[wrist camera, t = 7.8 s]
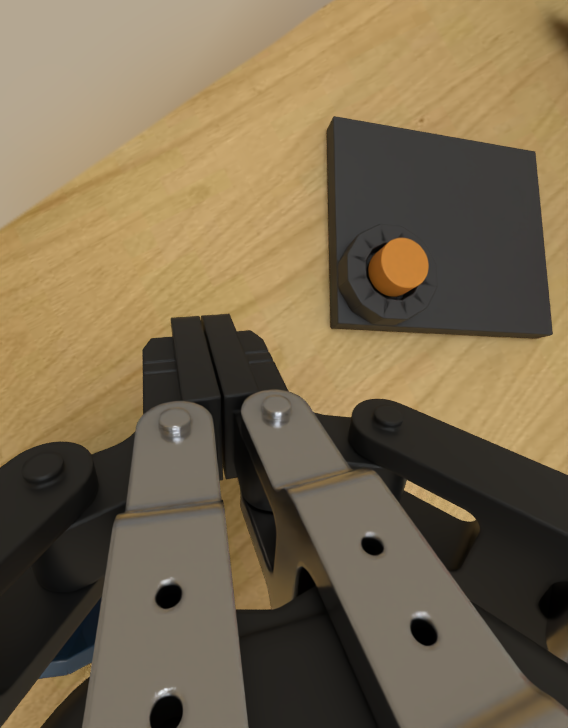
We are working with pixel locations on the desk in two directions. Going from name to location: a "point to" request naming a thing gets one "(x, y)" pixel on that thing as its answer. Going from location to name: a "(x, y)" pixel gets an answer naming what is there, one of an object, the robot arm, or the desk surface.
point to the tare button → (398, 267)
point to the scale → (436, 232)
